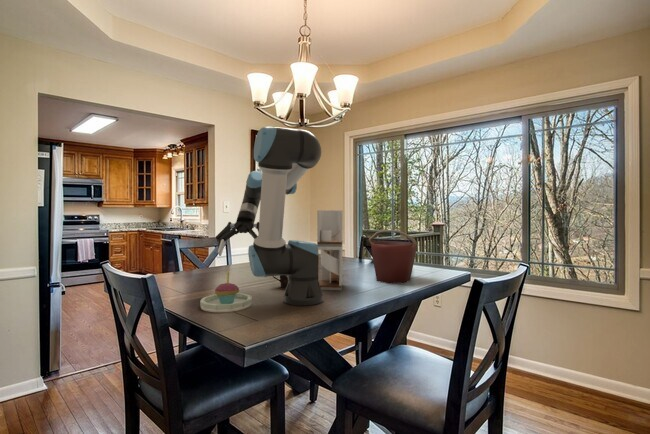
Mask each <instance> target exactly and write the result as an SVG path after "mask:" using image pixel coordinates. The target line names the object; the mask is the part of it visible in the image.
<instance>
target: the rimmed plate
mask: <svg viewBox="0 0 650 434" xmlns="http://www.w3.org/2000/svg"><path fill="white" fill-rule="evenodd" d="M199 301H200V302H199V306H200V309H201V310H202V311H204V312H207V313H208V312H209V313H232V312H238V311H243V310H245V309H248V308H249V307H251V306H252V295H249V294H247V293H243V292H242V293H241V292H239V293H237V294H236V296H235V299H234V302H233V303H231V304H221V303H220V301H219V298H218V296H217V295H216V294H215V293H214V294H209V295H207V296H204V297H202V298H201V299H200V300H199Z"/></svg>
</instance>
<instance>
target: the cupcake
mask: <svg viewBox="0 0 650 434" xmlns="http://www.w3.org/2000/svg"><path fill="white" fill-rule="evenodd" d="M229 281H230V271H227V272H226V283H221V284H219V285H217V286H216V288H214V289H215V290H214V291H215V292H214V295H215V294H216V295H217V296H218V298H219V301H220V303H221V304H231V303H233V302H234V299H235V296H236V294H237V293H240V290H239V287H238V285H236V284H234V283H230V282H229Z"/></svg>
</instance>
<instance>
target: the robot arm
mask: <svg viewBox="0 0 650 434" xmlns="http://www.w3.org/2000/svg"><path fill="white" fill-rule="evenodd" d="M321 157H322V146H321V143H320V142H319V140H318V138H317V137H316V136H315V135H314V134H313V133H312V132H310V131H309V130H305V129H297V128H288V127H276V126H263V127H261V128H260V129H259V130H258V131H257V134H256V136H255V140H254V145H253V159H254V162H256V163H258V164H257V165H258V168H259V169H260V170H261V171H258V170H253V171H250V172H249V174H248V176H247V178H246V179H247V180H246V182H245V189H244V192H243V193H244V194H243V198H242V201H241V205H240V208H239V211H238V214H237V218H236V220H235V222H234V223H232V222H231V221H228V222H227V224H226V226H225V227H223V229H222V230H220V232H219V233H218V234H217V235H216V236H215V239H216V241H217V242H218V243H217V248H218V249H217V255H218V256H219V257H222V254H223V252H224V248H225V245H226V241H228V240H229V239H231V238H233V236H235V235H238V234H247V233H249V235H251V237H252V238H253V244H251V245H249V246H248V248H247V252H248V261H249V266H250V270H251V274H252V275H253V276H254V277H256V278H257V277H258V278H259V277H261V278H267V277H268V278H269V277H273V276H274V277H278V276H279V277H280V275H288V284H287V287H286V288H285V291H284V294H283V302H284V303H285V304H287V305H292V306H312V305H318V304H320V303H322V302H323V301H324V294H323V290H321V287H320V284H319V281H320V280H319V257H320V254H319V250H318V246H317V243H315V242H311V241H304V240H295V239H288V242H287V243H286V240H285V239H284V238H283V229H284V228H283V227H284V215H285V204H286V195H287V196H288V195H294V194H295V193H297V192H296V191H297V186H298V185H297V182H298V181H299V180H301V178H302V177H303V176H304V175H305V174H306V173H307V171H308V170H310V169H313V168H314V167H316V166H317V164H318V163H319V161H320V160H321ZM258 210H259V219H258V221H257V222H256V223H255V221H256V217H257V214H258ZM254 228H255V229H256V230H257V232H258V235H257V233H256V232H255V231H254V230H253V229H254Z"/></svg>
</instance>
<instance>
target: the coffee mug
mask: <svg viewBox="0 0 650 434" xmlns="http://www.w3.org/2000/svg"><path fill="white" fill-rule="evenodd" d="M272 278H274V279H275V280H277V281H279V282H280V288H282V289H286V287H287V284H288V275H280V276H279V278H277V276H272Z"/></svg>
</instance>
